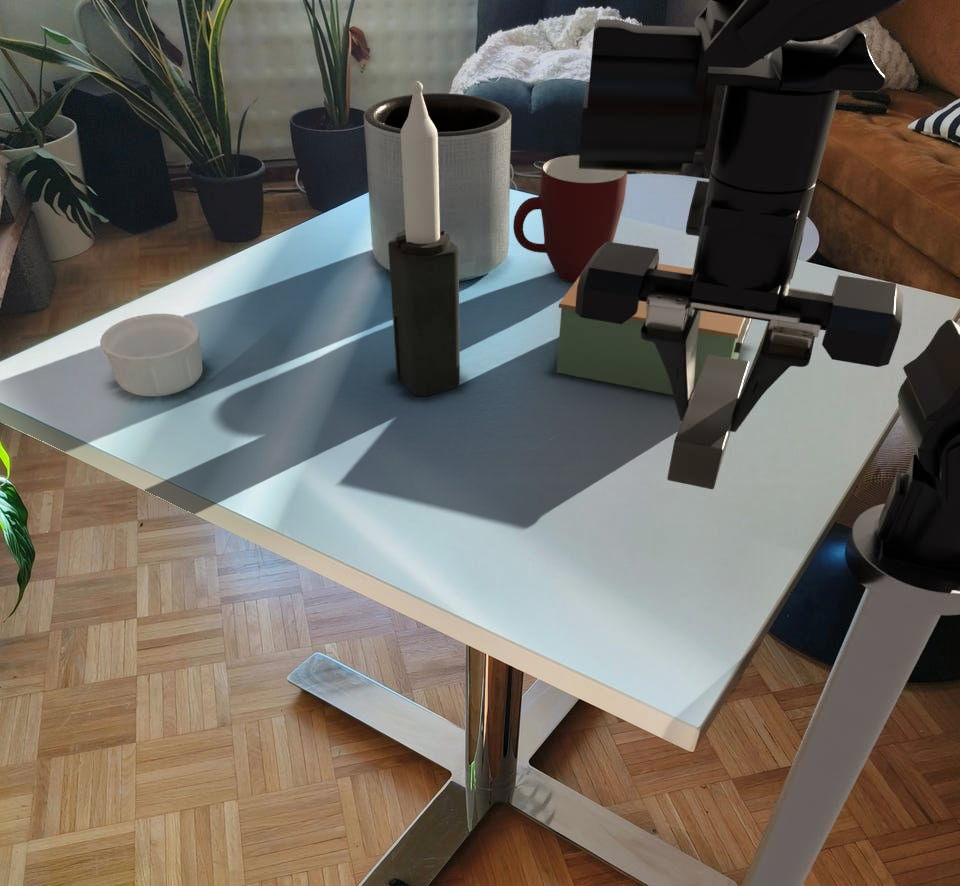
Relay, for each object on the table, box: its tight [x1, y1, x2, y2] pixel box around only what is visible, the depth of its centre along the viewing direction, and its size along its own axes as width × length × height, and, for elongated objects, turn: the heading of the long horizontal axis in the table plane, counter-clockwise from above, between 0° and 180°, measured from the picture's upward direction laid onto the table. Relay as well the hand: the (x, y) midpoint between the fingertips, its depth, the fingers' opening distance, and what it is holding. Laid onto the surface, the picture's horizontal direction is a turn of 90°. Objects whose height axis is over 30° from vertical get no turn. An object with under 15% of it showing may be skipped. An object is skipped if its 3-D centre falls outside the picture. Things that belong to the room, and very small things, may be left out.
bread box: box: [556, 263, 753, 396], centre depth 87 cm, size 17×12×7 cm
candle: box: [388, 80, 461, 397], centre depth 77 cm, size 5×5×25 cm
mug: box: [513, 154, 628, 283], centre depth 99 cm, size 12×9×11 cm
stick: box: [666, 354, 750, 490], centre depth 60 cm, size 12×3×3 cm, turn 160°
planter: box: [363, 92, 512, 282], centre depth 101 cm, size 16×16×16 cm
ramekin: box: [99, 313, 204, 397], centre depth 84 cm, size 9×9×4 cm
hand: (709, 424), depth 60 cm, fingers closed on stick, 3 cm apart
